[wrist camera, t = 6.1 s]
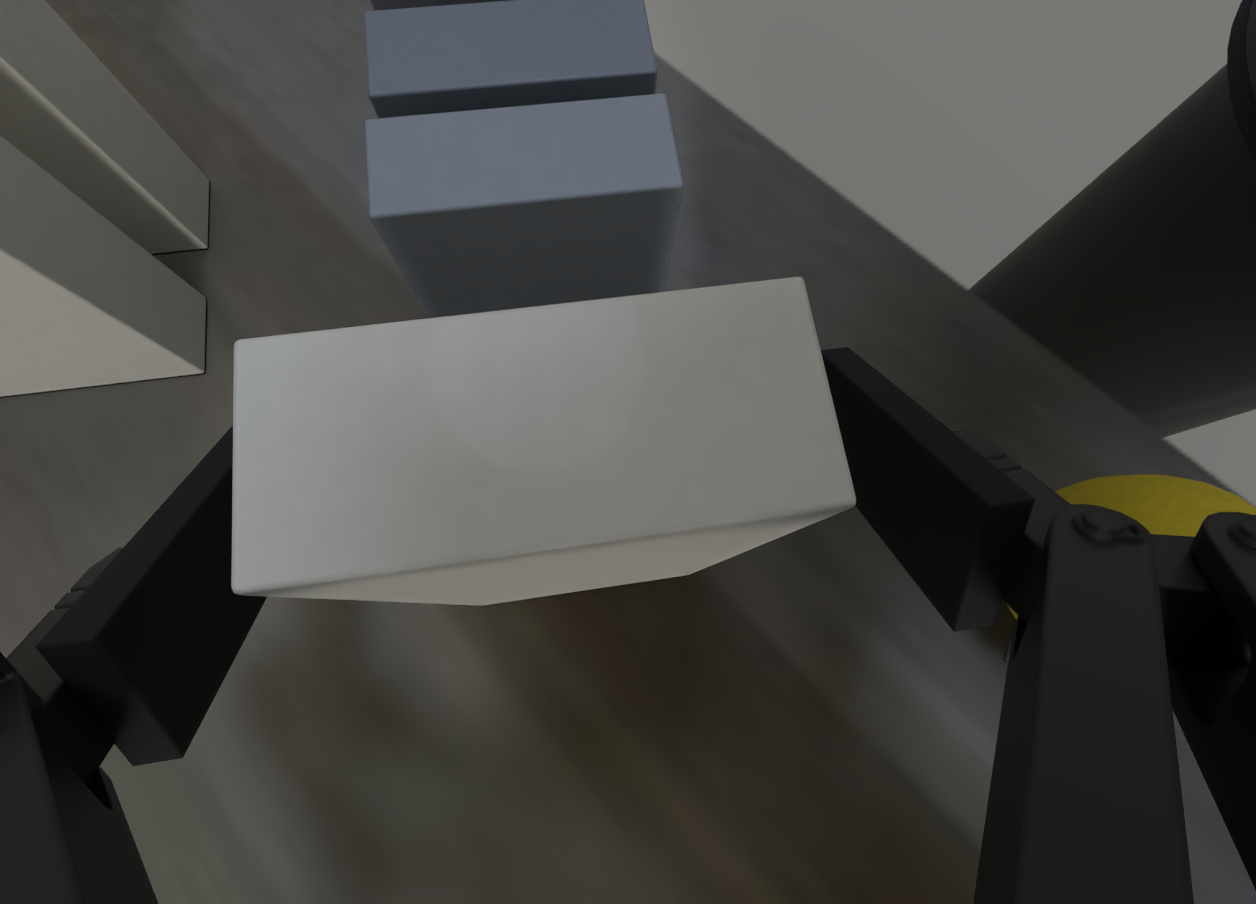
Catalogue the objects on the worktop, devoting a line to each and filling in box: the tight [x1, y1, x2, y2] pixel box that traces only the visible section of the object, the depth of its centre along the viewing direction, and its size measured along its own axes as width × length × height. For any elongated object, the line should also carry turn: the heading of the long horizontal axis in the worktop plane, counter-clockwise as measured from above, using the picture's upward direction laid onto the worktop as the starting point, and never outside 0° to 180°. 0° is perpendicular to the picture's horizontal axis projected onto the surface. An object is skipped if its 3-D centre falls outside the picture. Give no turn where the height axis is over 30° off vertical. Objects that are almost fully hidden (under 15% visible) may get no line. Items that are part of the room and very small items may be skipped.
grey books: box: [364, 0, 684, 318], centre depth 19 cm, size 10×7×9 cm
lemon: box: [1007, 474, 1256, 620], centre depth 17 cm, size 6×6×8 cm
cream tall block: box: [231, 277, 856, 606], centre depth 14 cm, size 3×7×14 cm, turn 98°
